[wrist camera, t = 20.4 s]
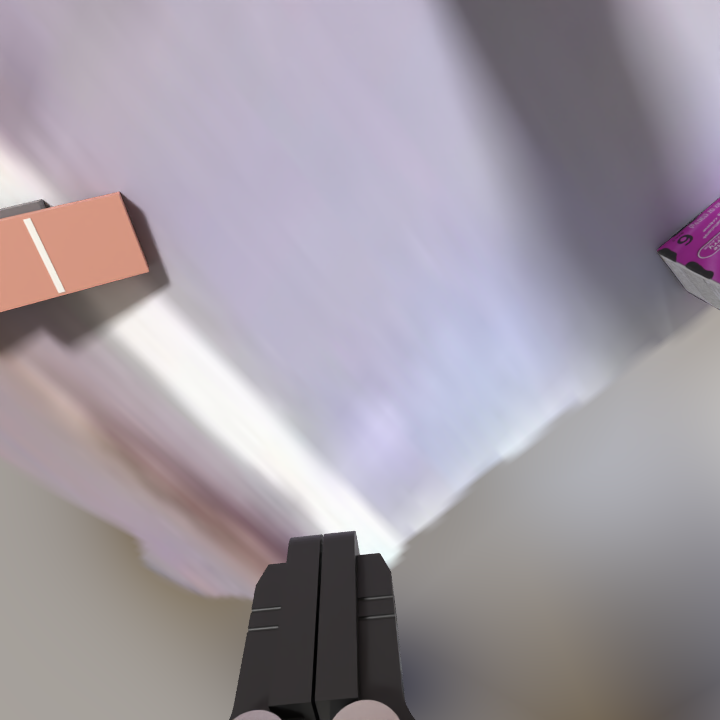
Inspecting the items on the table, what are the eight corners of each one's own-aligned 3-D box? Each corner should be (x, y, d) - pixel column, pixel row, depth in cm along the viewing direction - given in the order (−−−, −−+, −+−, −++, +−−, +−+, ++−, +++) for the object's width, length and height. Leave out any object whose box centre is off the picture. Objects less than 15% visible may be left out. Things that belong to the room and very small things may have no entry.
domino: (148, 266, 36) (-23, 311, 33) (119, 191, 33) (-67, 233, 31) (149, 271, 34) (-31, 320, 31) (118, 194, 32) (-79, 239, 29)
